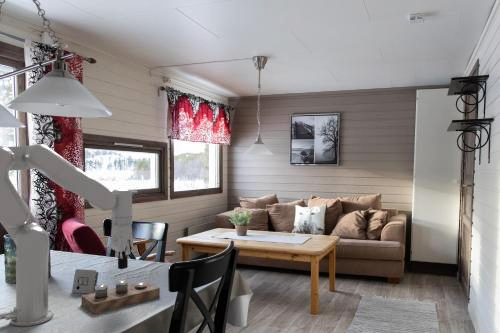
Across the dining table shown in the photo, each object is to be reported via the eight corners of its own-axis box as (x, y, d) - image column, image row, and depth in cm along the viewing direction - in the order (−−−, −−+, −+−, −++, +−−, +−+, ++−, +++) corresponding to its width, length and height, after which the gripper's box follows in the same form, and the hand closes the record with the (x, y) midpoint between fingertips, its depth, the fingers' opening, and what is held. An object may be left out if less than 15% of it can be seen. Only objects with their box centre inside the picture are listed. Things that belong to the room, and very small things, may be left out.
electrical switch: (71, 292, 158) (72, 269, 159) (79, 290, 163) (80, 267, 164) (91, 294, 156) (93, 271, 157) (99, 291, 161) (100, 269, 162)
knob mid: (118, 295, 146) (118, 283, 146) (113, 292, 149) (113, 281, 149) (129, 293, 149) (129, 281, 149) (124, 290, 152) (124, 279, 152)
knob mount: (94, 314, 136) (94, 304, 136) (81, 305, 144) (81, 295, 144) (159, 296, 154) (159, 288, 154) (144, 289, 162) (144, 281, 162)
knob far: (138, 297, 151) (138, 286, 151) (133, 294, 155) (133, 283, 155) (148, 294, 154) (148, 283, 154) (143, 292, 158) (143, 281, 158)
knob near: (97, 300, 140) (97, 288, 140) (93, 297, 143) (93, 285, 143) (109, 298, 143) (109, 285, 143) (104, 295, 146) (104, 283, 146)
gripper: (104, 220, 152) (105, 266, 152) (121, 224, 141) (122, 274, 141) (122, 217, 157) (123, 262, 157) (140, 221, 146) (141, 270, 146)
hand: (122, 268), depth 149 cm, fingers closed
